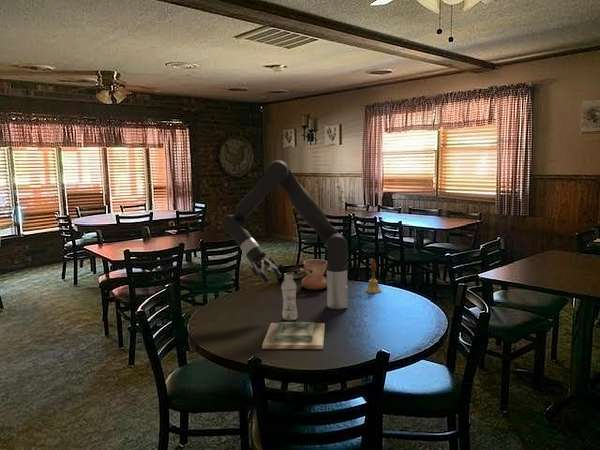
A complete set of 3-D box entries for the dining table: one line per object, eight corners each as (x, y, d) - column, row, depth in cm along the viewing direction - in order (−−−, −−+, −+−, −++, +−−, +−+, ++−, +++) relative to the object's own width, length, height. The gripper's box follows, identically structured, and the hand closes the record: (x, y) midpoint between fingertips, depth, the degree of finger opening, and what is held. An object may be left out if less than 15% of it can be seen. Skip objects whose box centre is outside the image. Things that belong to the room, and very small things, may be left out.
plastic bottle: (286, 323, 197) (285, 276, 194) (279, 318, 203) (278, 273, 200) (300, 320, 200) (299, 274, 197) (293, 316, 206) (291, 271, 203)
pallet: (324, 326, 192) (324, 318, 192) (322, 349, 170) (322, 339, 170) (271, 326, 194) (270, 318, 194) (262, 348, 172) (262, 339, 172)
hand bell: (363, 289, 243) (363, 258, 241) (379, 288, 244) (379, 257, 242) (367, 293, 235) (367, 262, 233) (383, 292, 236) (383, 261, 233)
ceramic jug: (305, 293, 238) (305, 266, 236) (295, 286, 251) (295, 259, 249) (337, 289, 244) (338, 263, 242) (326, 282, 258) (326, 257, 255)
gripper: (246, 248, 200) (268, 277, 196) (267, 242, 212) (288, 270, 207) (237, 259, 204) (259, 288, 199) (258, 252, 216) (279, 280, 211)
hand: (274, 279), depth 203 cm, fingers open, 8 cm apart
